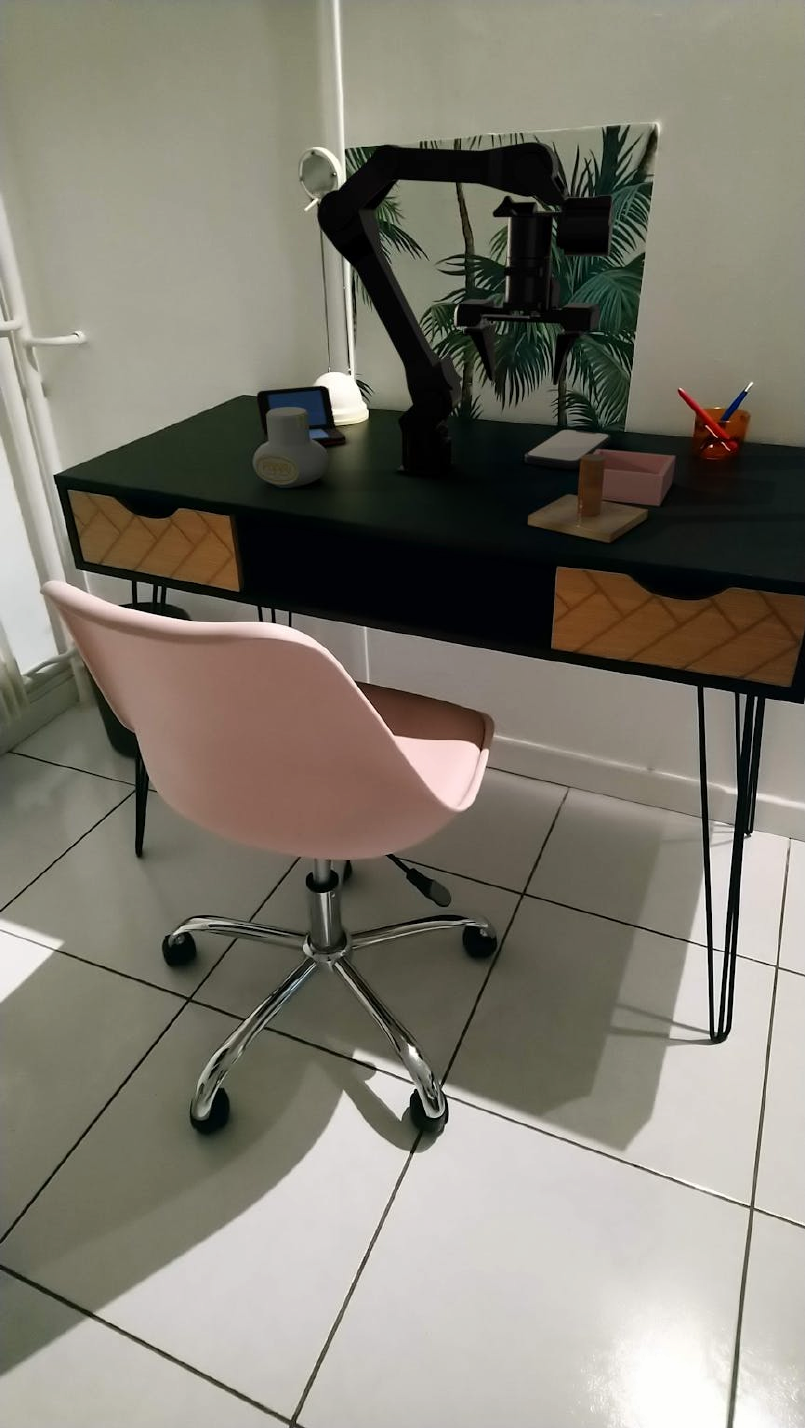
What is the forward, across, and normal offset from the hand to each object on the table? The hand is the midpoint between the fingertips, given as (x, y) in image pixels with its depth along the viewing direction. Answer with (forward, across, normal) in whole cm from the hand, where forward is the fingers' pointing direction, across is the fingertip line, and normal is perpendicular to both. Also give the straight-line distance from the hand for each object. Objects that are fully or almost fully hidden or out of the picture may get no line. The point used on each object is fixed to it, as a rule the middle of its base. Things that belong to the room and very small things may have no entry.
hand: (523, 382), depth 124 cm
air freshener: (+13, +30, +14) cm, 36 cm away
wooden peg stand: (+13, -14, +16) cm, 25 cm away
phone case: (+13, -4, -13) cm, 19 cm away
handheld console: (+13, +40, -7) cm, 43 cm away
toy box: (+13, -16, +2) cm, 21 cm away
